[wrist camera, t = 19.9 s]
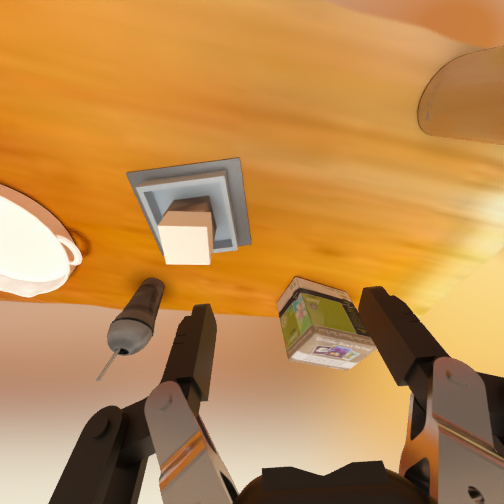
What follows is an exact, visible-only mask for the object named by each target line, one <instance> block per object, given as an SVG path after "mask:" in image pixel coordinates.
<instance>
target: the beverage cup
mask: <svg viewBox="0 0 504 504" xmlns="http://www.w3.org/2000/svg"><path fill="white" fill-rule="evenodd" d="M163 291H164V284H163V283H162V282H161V281H160V280H158V279H155V278H149V279H146V280H145V281H144V283H143V284H142V285H141V286H140V287H139V289H138V290H137V292H136V293H135V294H134V296H133V297H132V299H131V300H130V301H129V303H128V304H127V306H126V307H125V308H124V310H123V311H122V313H120V314H119V315H118V316H117V317H116V319H115V320H114V321H113V322H112V323H111V325H110V328H109V331H108V334H107V340H108V345H109V347H110V349H111V350H112V351H113V352H114V354H113V356H112V357H111V359H110V360H109V362H108V363H107V365H106V366H105V368H104V369H103V371H102V372H101V374H100V375H99V377H98V378H97V381H100V380H101V378H102V377H103V376H104V374H105V373H106V371H107V369H108V368H109V366H110V365H111V363H112V362H113V360H114V359H115V357H116V356H117V354H119V355H123V356H125V355H132V354H135V353H137V352H139V351H140V350H141V349H143V348H144V347H145V346H146V345H147V344H148V342H149V341H150V339H151V337H152V336H153V333H154V324H155V320H156V316H157V313H158V309H159V306H160V302H161V299H162V296H163Z"/></svg>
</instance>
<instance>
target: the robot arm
mask: <svg viewBox="0 0 504 504" xmlns="http://www.w3.org/2000/svg"><path fill="white" fill-rule="evenodd" d="M418 121H419V125H420V127H421V128H422V130H423V131H424V132H425V133H427V134H429V135H433V136H441V137H448V138H454V139H462V140H470V141H477V142H485V143H492V144H500V145H504V46H501V47H495V48H491V49H487V50H483V51H479V52H475V53H471V54H467V55H464V56H461V57H458V58H456V59H454V60H453V61H451V62H449V63H448V64H447V65H446V66H444V67H443V68H442V69H441V70H440V71H439V72H438V73H437V74H436V75H435V76H434V77H433V79H432V80H431V82H430V83H429V84H428V86H427V88H426V90H425V92H424V93H423V96H422V98H421V101H420V104H419V109H418ZM358 311H359V315H360V318H361V320H362V322H363V324H364V326H365V327H366V329H367V331H368V333H369V335H370V336H371V338H372V340H373V342H374V344H375V345H376V347H377V349H378V351H379V353H380V354H381V356H382V358H383V360H384V362H385V363H386V365H387V367H388V369H389V371H390V372H391V374H392V376H393V378H394V380H395V381H396V383H397V385H398V386H407V385H408V386H409V388H410V390H411V391H412V393H411V396H410V406H409V416H408V427H407V436H406V442H405V446H404V449H403V451H402V455H401V459H400V465H399V474H397V473H395V472H393V471H391V470H388V469H385V467H384V464H383V462H382V461H367V462H352V463H350V464H348V465H346V466H344V467H342V468H340V469H338V470H336V471H334V472H332V473H330V474H328V475H325V476H321V475H317V474H314V473H311V472H307V471H304V470H300V469H297V468H294V467H276V468H262V475H261V476H259V477H257V478H255V479H254V480H253V481H251V482H250V483H249V484H248V485H247V486H246V487H245V488H244V489H243V490H242V492H241V493H240V494H239V493H238V491H237V489H236V487H235V484H234V482H233V480H232V478H231V476H230V474H229V472H228V470H227V468H226V466H225V465H224V463H223V461H222V460H221V458H220V456H219V454H218V452H217V450H216V448H215V446H214V444H213V442H212V440H211V438H210V436H209V433H208V431H207V430H206V427H205V425H204V423H203V421H202V419H201V417H200V415H199V407H200V401H208V395H209V387H210V380H211V372H212V364H213V357H214V349H215V341H216V333H217V325H216V320H215V317H214V314H213V312H212V309H211V306H210V304H199V305H194V307H193V311H192V315H191V316H185V317H184V319H183V320H182V322H181V323H180V324H179V326H178V329H177V332H176V337H175V339H174V342H173V346H172V349H171V352H170V355H169V358H168V361H167V365H166V368H165V371H164V374H163V378H162V380H161V382H160V384H159V385H158V386H157V387H156V388H155V389H154V390H153V391H152V392H151V393H150V395H149V396H148V397H146V398H145V399H143V400H141V401H139V402H136V403H134V404H132V405H130V406H128V407H125V408H123V409H120V408H118V407H117V406H107V407H105V408H103V409H101V410H99V411H98V412H97V413H96V414H94V415H93V416H92V417H91V419H90V420H89V421H88V422H87V424H86V425H85V427H84V429H83V431H82V432H81V435H80V437H79V439H78V441H77V443H76V446H75V448H74V450H73V452H72V454H71V456H70V458H69V460H68V463H67V465H66V467H65V469H64V471H63V473H62V475H61V478H60V480H59V482H58V484H57V486H56V489H55V490H54V493H53V495H52V497H51V499H50V501H49V504H137V503H138V498H139V494H140V490H141V485H142V482H143V477H144V473H145V469H146V465H147V461H148V457H149V456H150V455H152V454H154V453H156V455H157V459H158V462H159V465H160V470H161V476H160V478H159V486H160V492H161V496H162V500H163V503H164V504H504V378H503V377H498V376H493V375H488V374H484V373H479V372H476V371H474V370H473V369H472V368H471V367H469V366H468V365H467V364H465V363H463V362H461V361H459V360H457V359H453V358H451V357H450V356H449V355H448V354H447V353H446V352H445V350H444V349H443V348H442V347H441V346H440V344H439V343H438V342H437V341H436V340H435V338H434V337H433V336H432V335H431V334H430V332H429V331H428V330H427V329H426V327H425V326H424V325H423V324H422V323H421V322H420V320H419V319H418V318H417V317H416V315H415V314H413V312H412V311H411V309H410V308H409V307H408V306H407V305H406V303H404V302H403V301H402V300H400V299H399V298H397V297H396V296H394V295H393V296H389V294H388V293H387V292H386V290H385V289H384V288H383V287H381V286H375V287H366V288H364V289H363V291H362V295H361V299H360V303H359V307H358ZM496 451H497V452H496Z"/></svg>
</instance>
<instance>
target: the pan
mask: <svg viewBox="0 0 504 504" xmlns="http://www.w3.org/2000/svg"><path fill="white" fill-rule="evenodd" d="M81 262H82V256H81V253H80V251H79V249H78V248H77V247H76V246H75V243H74V241H73V239H72V238H71V236H70V234H69V232H68V231H67V230H66V228H65V227H64V226H63V225H62V223H61V222H60V221H59V220H58V219H57V218H56V217H55V216H54V215H53V214H52V213H51V212H49V211H48V210H47V209H45V208H44V207H43V206H41V205H40V204H39V203H37V202H36V201H34V200H32V199H31V198H29V197H27V196H26V195H24V194H22V193H20V192H18V191H15V190H13V189H11V188H9V187H7V186H4V185H1V184H0V291H4V292H9V293H14V294H16V295H20V296H23V297H33V296H36V295H37V294H42V293H48V292H51V291H53V290H56V289H58V288H59V287H60V286H62V285H63V284H64V283H65V282H66V280H67V279H68V277H69V276H70V274H71V273H72V272H73V270H74V269H75V267H76V265H79V264H81Z"/></svg>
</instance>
